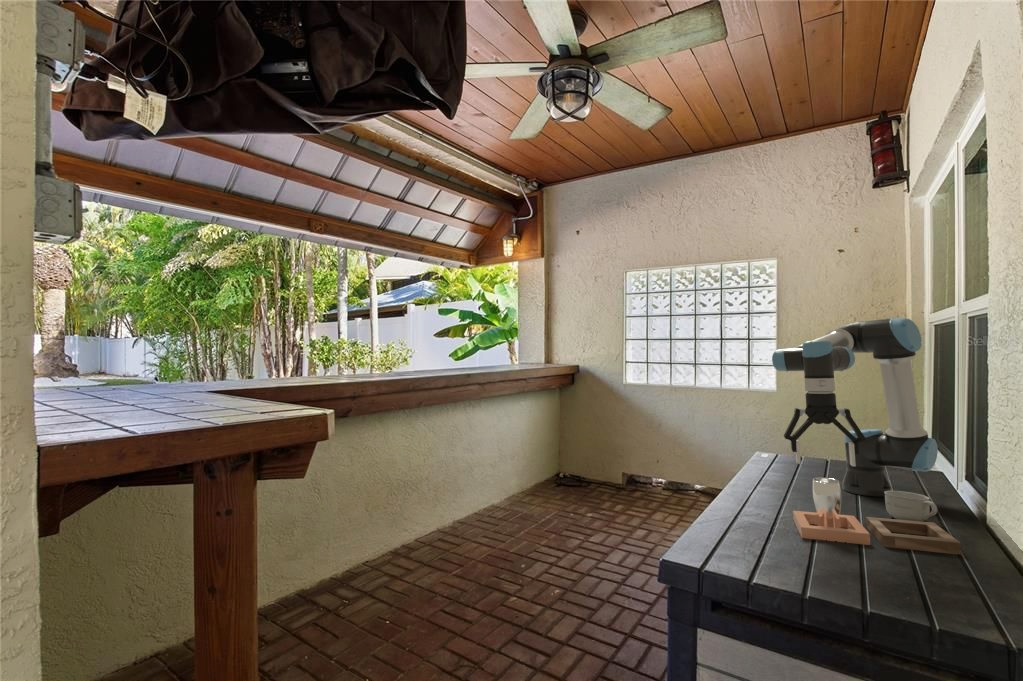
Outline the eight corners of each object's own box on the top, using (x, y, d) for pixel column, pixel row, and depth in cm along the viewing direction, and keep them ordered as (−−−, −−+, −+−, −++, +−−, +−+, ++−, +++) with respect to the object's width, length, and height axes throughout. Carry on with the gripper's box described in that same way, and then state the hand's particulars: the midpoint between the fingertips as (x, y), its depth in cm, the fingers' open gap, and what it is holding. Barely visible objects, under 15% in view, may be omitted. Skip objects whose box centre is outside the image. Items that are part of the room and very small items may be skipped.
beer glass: (848, 536, 133) (844, 483, 133) (821, 535, 134) (817, 482, 135) (836, 528, 139) (833, 477, 140) (811, 527, 141) (807, 477, 142)
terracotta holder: (793, 520, 147) (792, 510, 148) (854, 525, 141) (853, 515, 141) (801, 537, 133) (801, 527, 133) (870, 545, 126) (869, 533, 126)
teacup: (877, 514, 150) (875, 489, 151) (911, 514, 150) (910, 488, 150) (913, 530, 136) (911, 502, 137) (951, 529, 136) (949, 501, 137)
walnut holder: (866, 527, 140) (865, 516, 140) (934, 533, 133) (933, 522, 133) (884, 546, 125) (883, 535, 125) (961, 554, 119) (960, 542, 119)
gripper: (773, 393, 141) (778, 464, 140) (875, 392, 131) (881, 469, 130) (771, 391, 147) (775, 459, 146) (867, 390, 137) (872, 463, 136)
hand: (825, 464), depth 138 cm, fingers open, 13 cm apart
